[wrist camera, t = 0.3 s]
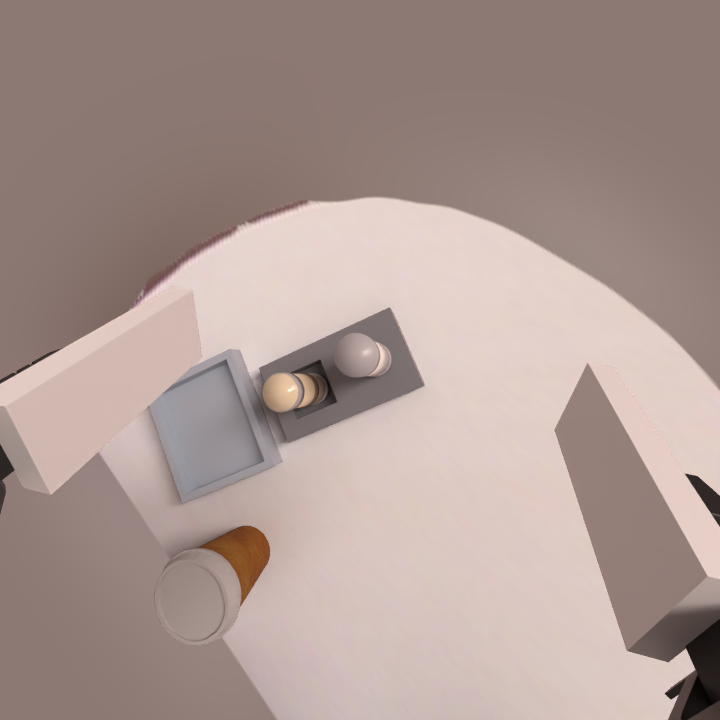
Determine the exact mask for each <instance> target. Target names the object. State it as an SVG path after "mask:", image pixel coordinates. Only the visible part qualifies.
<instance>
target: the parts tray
mask: <svg viewBox="0 0 720 720" xmlns="http://www.w3.org/2000/svg"><path fill="white" fill-rule="evenodd" d="M149 409H150V412H151V415H152V418H153V420H154V423H155V426H156V429H157V432H158V435H159V438H160V441H161V444H162V447H163V449H164V452H165V455H166V458H167V461H168V464H169V467H170V470H171V473H172V475H173V478H174V481H175V484H176V487H177V490H178V493H179V496H180V499H181V502H182V504H183V503H185V502H188V501H190V500H192V499H195V498H197V497H200V496H202V495H205V494H207V493H209V492H212V491H214V490H217V489H219V488H222V487H224V486H227V485H229V484H231V483H234V482H236V481H239V480H241V479H244V478H246V477H249V476H251V475H253V474H256V473H258V472H261V471H263V470H266V469H268V468H271V467H273V466H275V465H277V464H279V463H281V462H282V459H281V457H280V454H279V451H278V449H277V446H276V444H275V441H274V438H273V436H272V433H271V430H270V428H269V425H268V423H267V420H266V417H265V415H264V412H263V409H262V407H261V404H260V402H259V399H258V396H257V394H256V391H255V389H254V386H253V383H252V381H251V378H250V375H249V373H248V370H247V368H246V365H245V362H244V360H243V357H242V354H241V352H240V350H234V349H229V350H227V351H225V352H223V353H221V354H219V355H216V356H214V357H212V358H210V359H208V360H206V361H204V362H202V363H200V364H198V365H196V366H194V367H192V368H190V369H189V370H188V371H187V372H186V373H184V374H183V375H182V376H181V377H180V378H179V379H178V380H177V381H176V382H175V383H173V384H172V385H171V386H170V387H169V388H168V389H167V390H166V391H165V392H164V393H162V394H161V395H160V396H159V397H158V398H157V399H156V400H155V401H154V402H153V403H151V404H150V405H149Z"/></svg>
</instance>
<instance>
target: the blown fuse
mask: <svg viewBox="0 0 720 720" xmlns="http://www.w3.org/2000/svg"><path fill="white" fill-rule="evenodd" d="M329 393H330V385H329V382H328V380H327V379H326V378H325V377H324V376H323V375H321V374H318V373H308V374H305V373H297V374H292V373H275V374H272V375H271V376H269V377H268V378H267V379H266V381H265V382H264V384H263V387H262V398H263V401H264V403H265V405H266V406H267V407H268V408H269V409H271V410H272V411H275V412H280V413H281V412H287V411H291V410H294V409H296V408H301V407H306V406H309V405H316V404H320V403H322V402H324V401H325V400H326V399H327V397H328V396H329Z"/></svg>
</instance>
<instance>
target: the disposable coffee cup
mask: <svg viewBox="0 0 720 720" xmlns="http://www.w3.org/2000/svg"><path fill="white" fill-rule="evenodd" d="M269 557H270V547H269V543H268V541H267V539H266V537H265V536H264V534H263V533H262V532H261V531H259V530H258V529H256V528H254V527H251V526H242V527H239V528H237V529H235V530H233V531H231V532H229V533H227V534H225V535H223V536H220V537H218V538H216V539H214V540H212V541H210V542H208V543H206V544H204V545H202V546H200V547H198V548H196V549H188V550H185V551H183V552H180V553H179V554H177V555H176V556H174V557H173V558H172V559H171V560H170V561H169V562H168V564H167V565H166V566H165V568H164V570H163V572H162V574H161V576H160V577H159V579H158V581H157V584H156V589H155V593H154V600H155V602H154V603H155V610H156V613H157V617H158V619H159V621H160V623H161V625H162V626H163V627H164V629H165V630H166V631H167V633H168V634H169V635H170V636H171V637H173V638H174V639H175V640H177V641H179V642H181V643H183V644H186V645H191V646H198V645H204V644H206V643H209V642H211V641H214V640H217V639H218V638H220V637H222V636H224V635H225V634H226V633H227V632H228V631H229V630H230V629H231V627H232V626H233V624H234V622H235V621H236V619H237V616H238V612H239V609H240V606H241V605H242V603H243V602H244V600H245V599H246V597H247V595H248V594H249V592H250V590H251V589H252V587H253V586H254V584H255V582H256V581H257V579H258V577H259V576H260V574H261V573H262V571H263V569H264V568H265V566H266V565H267V563H268V560H269Z"/></svg>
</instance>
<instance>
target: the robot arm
mask: <svg viewBox="0 0 720 720" xmlns="http://www.w3.org/2000/svg"><path fill="white" fill-rule="evenodd" d="M201 358H202V351H201V344H200V337H199V330H198V324H197V317H196V310H195V304H194V297H193V290H188V289H183V288H177V287H171V288H169V289H167V290H166V291H164V292H162V293H160V294H159V295H157V296H155V297H153V298H152V299H150V300H148V301H146V302H144V303H143V304H141V305H139V306H137V307H136V308H134V309H132V310H130V311H128V312H127V313H125V314H123V315H121V316H120V317H118V318H116V319H114V320H113V321H111V322H109V323H107V324H105V325H104V326H102V327H100V328H98V329H97V330H95V331H93V332H92V333H89V334H88V335H86V336H84V337H82V338H81V339H79V340H77V341H75V342H74V343H72V344H70V345H68V346H67V347H64V348H62V349H58V350H56V351H53V352H50V353H48V354H46V355H44V356H43V357H41V358H39V359H37V360H36V361H34V362H32V364H31V365H27V366H25V367H23V368H21V369H19V370H17V373H12V374H10V375H8V376H7V377H5V378H3V379H1V380H0V513H1V509H2V505H3V501H4V497H5V493H6V489H5V484H4V483H3V481H2V480H3V479H4V478H5V477H6V476H8V475H9V474H10V473H11V472H13V471H15V473H16V475H17V477H18V479H19V480H20V482H21V484H22V486H23V487H24V488H27V489H31V490H35V491H38V492H42V493H46V494H49V495H51V494H52V493H54V491H56V490H57V489H58V488H59V487H60V486H61V485H62V484H63V483H65V482H66V481H67V480H68V479H69V478H70V477H71V476H72V475H73V474H74V473H76V472H77V471H78V470H79V469H80V468H81V467H82V466H83V465H84V464H85V463H87V462H88V461H89V460H90V459H91V458H92V457H93V456H94V455H95V454H96V453H98V452H99V451H100V450H101V449H102V448H103V447H104V446H105V445H106V444H107V443H109V442H110V441H111V440H112V439H113V438H114V437H115V436H116V435H117V434H118V433H120V432H121V431H122V430H123V429H124V428H125V427H126V426H127V425H128V424H129V423H131V422H132V421H133V420H134V419H135V418H136V417H137V416H138V415H139V414H140V413H142V412H143V411H144V410H145V409H146V408H147V407H148V406H149V405H150V404H151V403H153V402H154V401H155V400H156V399H157V398H158V397H159V396H160V395H161V394H162V393H164V392H165V391H166V390H167V389H168V388H169V387H170V386H171V385H172V384H173V383H175V382H176V381H177V380H178V379H179V378H180V377H181V376H182V375H183V374H184V373H186V372H187V371H188V370H189V369H190V368H191V367H192V366H193V365H194V364H195V363H197V362H198V361H199V360H200V359H201ZM555 432H556V435H557V439H558V442H559V445H560V448H561V451H562V454H563V457H564V460H565V463H566V466H567V469H568V472H569V475H570V478H571V481H572V484H573V487H574V490H575V494H576V497H577V500H578V503H579V506H580V509H581V512H582V515H583V518H584V521H585V524H586V527H587V530H588V533H589V536H590V539H591V542H592V546H593V549H594V552H595V555H596V558H597V561H598V564H599V567H600V570H601V573H602V576H603V579H604V582H605V585H606V588H607V591H608V594H609V597H610V601H611V604H612V607H613V610H614V613H615V616H616V619H617V622H618V625H619V628H620V631H621V634H622V637H623V640H624V643H625V646H626V649H627V651H629V652H633V653H637V654H640V655H644V656H648V657H651V658H655V659H659V660H662V661H666V662H669V661H671V660H672V659H673V658H674V657H676V656H677V655H678V654H679V653H681V652H682V651H683V650H684V649H687V651H688V653H689V656H690V658H691V660H692V662H693V665H694V667H695V669H696V670H695V671H693V672H692V673H691V674H689V675H688V676H686V677H685V678H684V679H682V680H681V681H679V682H678V683H677V684H675V685H674V686H673V687H671V688H670V689H669V690H668V691H667V692H666V693H665V694H666V695H667V696H668V697H669V698H670V699H673V698H674V697H676V696H677V695H679V696H678V698H677V700H676V703H675V705H674V707H673V710H672V712H671V714H670V717H669V719H668V720H720V496H719V495H718V494H717V493H716V492H715V491H714V490H713V489H711V488H710V487H709V486H708V485H707V484H706V483H705V482H704V481H702V480H701V479H700V478H699V477H698V476H694V475H689V474H685V473H684V472H683V471H682V469H681V468H680V466H679V465H678V463H677V461H676V460H675V458H674V457H673V455H672V454H671V452H670V451H669V449H668V448H667V446H666V445H665V443H664V442H663V440H662V439H661V437H660V436H659V434H658V433H657V431H656V430H655V428H654V427H653V425H652V424H651V422H650V421H649V419H648V418H647V416H646V415H645V413H644V412H643V410H642V408H641V407H640V405H639V404H638V402H637V401H636V399H635V398H634V396H633V395H632V393H631V392H630V390H629V389H628V387H627V386H626V384H625V383H624V381H623V380H622V378H621V377H620V375H619V374H618V372H617V371H616V369H615V368H614V367H609V366H603V365H598V364H592V363H587V365H586V367H585V369H584V371H583V373H582V376H581V378H580V380H579V382H578V384H577V386H576V388H575V390H574V392H573V394H572V396H571V398H570V400H569V402H568V404H567V406H566V408H565V410H564V412H563V414H562V416H561V418H560V420H559V422H558V424H557V426H556V428H555Z"/></svg>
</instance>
